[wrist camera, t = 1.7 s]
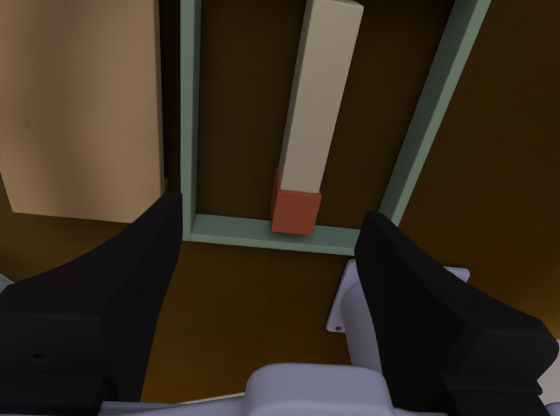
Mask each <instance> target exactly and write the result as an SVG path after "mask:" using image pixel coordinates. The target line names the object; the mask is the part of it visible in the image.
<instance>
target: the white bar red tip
mask: <svg viewBox="0 0 560 416" xmlns="http://www.w3.org/2000/svg"><path fill="white" fill-rule="evenodd" d="M363 10H364V6H362V5H360V4H359V3H357V2H355V1H353V0H306V6H305V12H304V18H303V24H302V30H301V36H300V42H299V48H298V54H297V60H296V66H295V72H294V78H293V84H292V90H291V96H290V102H289V108H288V114H287V120H286V126H285V132H284V138H283V144H282V150H281V156H280V162H279V167H276V171H275V177H274V183H273V189H272V195H271V202H270V218H271V231H272V232H282V233H293V234H303V235H312V234H313V230H314V226H315V222H316V218H317V214H318V210H319V206H320V202H321V198H322V196H321V192H320V185H321V181H322V177H323V173H324V169H325V164H326V160H327V156H328V152H329V148H330V144H331V140H332V136H333V132H334V128H335V124H336V120H337V116H338V112H339V108H340V103H341V99H342V95H343V91H344V87H345V83H346V79H347V75H348V71H349V67H350V63H351V59H352V55H353V51H354V47H355V43H356V38H357V34H358V30H359V26H360V22H361V18H362V14H363Z"/></svg>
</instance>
